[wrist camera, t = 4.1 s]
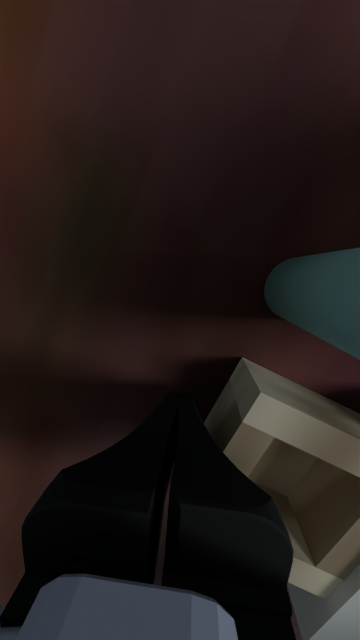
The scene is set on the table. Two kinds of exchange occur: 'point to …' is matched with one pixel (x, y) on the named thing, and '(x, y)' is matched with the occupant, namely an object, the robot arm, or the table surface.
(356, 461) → the beige hollow square block
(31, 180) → the table surface
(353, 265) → the dowel
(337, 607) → the wall
